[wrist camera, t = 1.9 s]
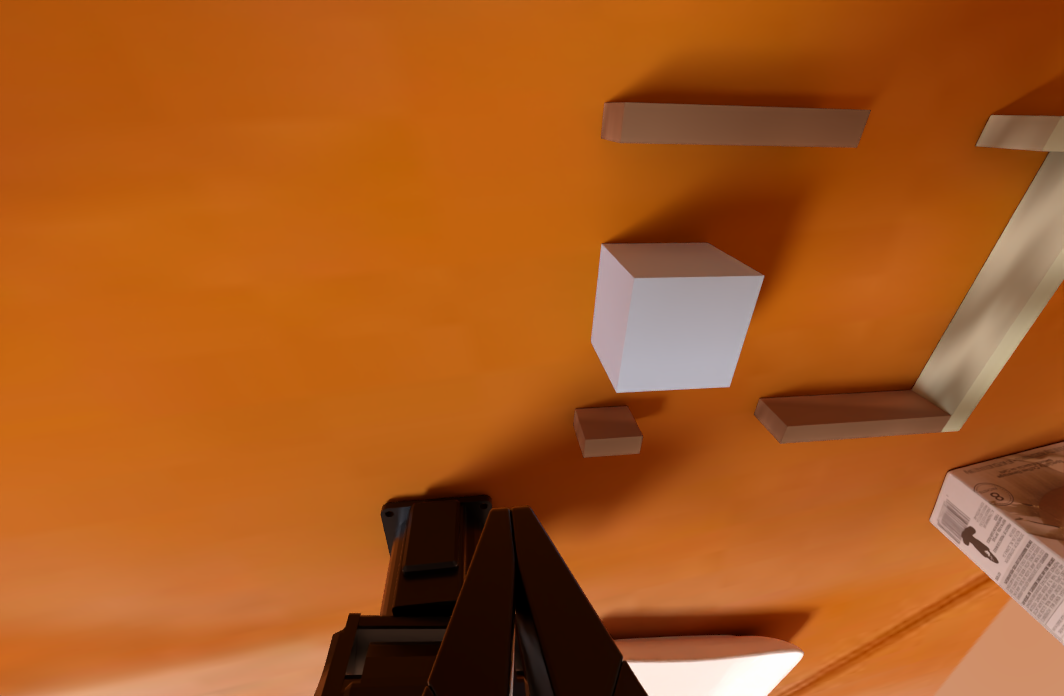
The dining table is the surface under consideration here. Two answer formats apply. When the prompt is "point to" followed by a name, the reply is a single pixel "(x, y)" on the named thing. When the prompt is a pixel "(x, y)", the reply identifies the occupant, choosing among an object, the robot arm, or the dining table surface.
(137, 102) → the dining table surface
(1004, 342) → the wooden pieces
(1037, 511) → the coffee box
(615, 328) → the white cube
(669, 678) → the salad plate
